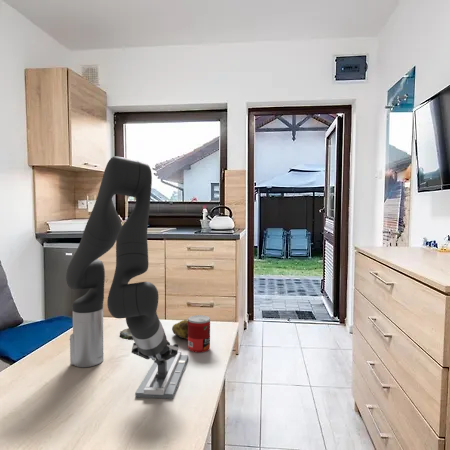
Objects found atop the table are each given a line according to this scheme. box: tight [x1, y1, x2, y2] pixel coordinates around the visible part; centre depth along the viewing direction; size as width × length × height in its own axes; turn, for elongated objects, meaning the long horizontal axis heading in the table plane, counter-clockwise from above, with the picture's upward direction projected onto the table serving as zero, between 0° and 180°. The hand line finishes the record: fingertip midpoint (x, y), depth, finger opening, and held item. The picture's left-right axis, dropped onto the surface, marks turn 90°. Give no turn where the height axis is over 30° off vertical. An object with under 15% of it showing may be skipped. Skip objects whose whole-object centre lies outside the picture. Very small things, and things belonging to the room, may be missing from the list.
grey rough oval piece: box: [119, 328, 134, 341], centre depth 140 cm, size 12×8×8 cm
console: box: [134, 350, 189, 399], centre depth 105 cm, size 10×26×2 cm, turn 177°
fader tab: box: [157, 339, 169, 379], centre depth 101 cm, size 3×3×10 cm
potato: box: [171, 319, 188, 340], centre depth 135 cm, size 8×13×8 cm, turn 15°
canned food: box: [187, 314, 211, 353], centre depth 126 cm, size 8×8×11 cm
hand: (160, 361), depth 100 cm, fingers closed
